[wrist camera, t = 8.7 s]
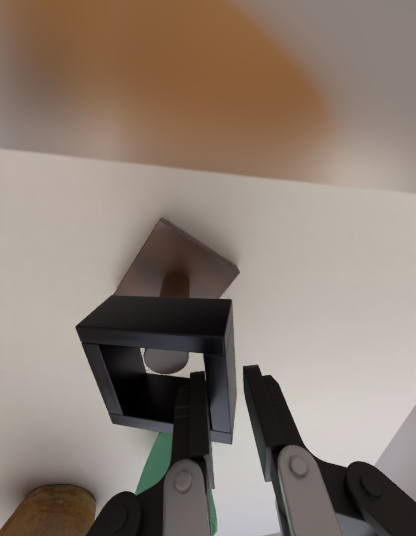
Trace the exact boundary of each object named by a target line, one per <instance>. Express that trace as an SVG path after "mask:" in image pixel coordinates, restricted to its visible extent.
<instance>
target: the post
mask: <svg viewBox="0 0 416 536" xmlns="http://www.w3.org/2000/svg"><path fill="white" fill-rule="evenodd" d="M239 273H240V271H239V269H238V267H237V266H236V265H234V264H233V263H231V262H230V261H228V260H226V259H225V258H223V257H222V256H220V255H219V254H217V253H216V252H214V251H213V250H211V249H210V248H208V247H207V246H205V245H204V244H202V243H200V242H199V241H197V240H196V239H194V238H193V237H191V236H190V235H188V234H187V233H185V232H184V231H182V230H181V229H179V228H178V227H176V226H174V225H173V224H171V223H170V222H168V221H167V220H165V219H164V218H161V219H160V220H159V222H158V223H157V225H156V227H155V228H154V230H153V231H152V233H151V235H150V236H149V238H148V240H147V241H146V243H145V244H144V246H143V248H142V249H141V251H140V253H139V254H138V256H137V257H136V259H135V261H134V262H133V264H132V265H131V267H130V269H129V270H128V272H127V274H126V275H125V277H124V278H123V280H122V282H121V283H120V285H119V287H118V288H117V290H116V291H115V293H114V295H121V296H150V297H179V298H208V299H219V298H220V297H221V295H222V294H223V293H224V292H225V290H226V289H227V288H228V287H229V285H230V284H231V283H232V282H233V280H234V279H235V278H236V277H237V275H238V274H239ZM188 358H189V352H184V351H173V350H161V349H150V348H145V352H144V361H145V363H146V365H147V366H148V367H149V368H150V369H151V370H153V371H154V372H157V373H160V374H172V373H175V372H178V371H180V370H181V369H183V368H184V367H185V365H186V364H187V362H188Z"/></svg>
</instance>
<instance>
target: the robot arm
mask: <svg viewBox="0 0 416 536" xmlns="http://www.w3.org/2000/svg"><path fill="white" fill-rule="evenodd" d="M243 382H244V394H245V400H246V404H247V408H248V412H249V417H250V421H251V425H252V429H253V433H254V437H255V441H256V446H257V450H258V454H259V458H260V462H261V466H262V471H263V475H264V479H265V482H269V481H272V484H273V488H274V492H275V496H276V498H275V503H276V509H277V514H278V520H279V525H280V530H281V535H282V536H416V502H415V501H414V500H413V499H412V498H410V497H409V496H408V495H407V494H406V493H405V492H404V491H402V490H401V489H400V488H399V487H398V486H397V485H396V484H394V483H393V482H392V481H391V480H390V479H389V478H387V476H385V475H384V474H383V473H382V472H380V471H379V470H378V469H377V468H375V467H374V466H372V465H370V464H368V463H366V462H361V461H356V462H353V463H351V464H350V465H349V466H348V468H347V467H343V466H339V465H335V464H331V463H327V462H324V461H322V460H320V459H318V458H317V457H315V456H314V455H313V454H312V453H311V452H310V451H309V450H308V449H307V448H306V446H305V445H304V443H303V441H302V439H301V437H300V434H299V432H298V430H297V427H296V425H295V422H294V420H293V417H292V415H291V413H290V410H289V408H288V405H287V403H286V401H285V398H284V396H283V393H282V391H281V389H280V386H279V384H278V383H277V382H276V380H275V379H274V378H273V377H272V376H271V375H266V376H262V374H261V371H260V368H259V366H258V365H250V366H243ZM209 489H215V487H214V473H213V460H212V446H211V433H210V419H209V406H208V395H207V386H206V378H205V371H200V372H191V373H190V385H183V386H180V388H179V390H178V392H177V394H176V396H175V410H174V423H173V436H172V450H171V461H170V464H169V467H168V470H167V471H166V473H165V475H164V476H163V478H162V479H161V480H160V481H159V482H158V483H156V484H155V485H154V486H152V487H150V488H148V489H147V490H145V491H143V492H141V493H140V494H138V495H135V494H134V493H132V492H128V491H124V492H120V493H118V494H116V495H115V496H113V497H112V498H111V499H110V500H109V501H108V502H107V503H106V505H105V506H104V507H103V509H102V510H101V512H100V514H99V515H98V517H97V518H96V520H95V522H94V523H93V525H92V526H91V528H90V529H89V531H88V533H87V534H86V536H212V531H211V522H210V493H209Z"/></svg>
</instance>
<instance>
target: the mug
mask: <svg viewBox="0 0 416 536" xmlns="http://www.w3.org/2000/svg"><path fill="white" fill-rule="evenodd" d="M172 436H173V434H168V433H163V432H160V433H159V435H158V437H157V439H156V441H155V443H154V445H153V447H152V450H151V452H150V454H149V457H148V459H147V462H146V464H145V466H144V469H143V472H142V475H141V478H140V481H139V484H138V486H137V489H136V492H135V495H138V494H140V493H141V492H143V491H145V490H147V489H148V488H150V487H152V486H154V485H155V484H156V483H158V482H159V481H160V480H161V479H162V478H163V476H164V475H165V473H166V471H167V470H168V467H169V464H170V461H171V450H172ZM209 493H210V522H211V531H212V536H214V535H215V533H216V532H217V518H216V510H215V506H214V501H213V496H212V490H211V489H209Z"/></svg>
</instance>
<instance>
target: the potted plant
mask: <svg viewBox="0 0 416 536" xmlns="http://www.w3.org/2000/svg"><path fill="white" fill-rule="evenodd" d="M95 511H96V504H95V501H94V499H93V497H92V496H91V495H90V493H89V492H87V491H86V490H84V489H82V488H80V487H76V486H72V485H48V486H44V487H40V488H36V489H35V490H33V491H32V492H30V493H29V494H28V495H27V496H26V497H25V499H24V500H23V501H22V502H21V504H20V505H19V506H18V508H17V509H16V510H15V512H14V513H13V514H12V516H11V517H10V518H9V519H8V521H7V522H6V523H5V524H4V526H3V527H2V528H1V530H0V536H86V534H87V533H88V531H89V529H90V528H91V526H92V525H93V523H94V520H95Z"/></svg>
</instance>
